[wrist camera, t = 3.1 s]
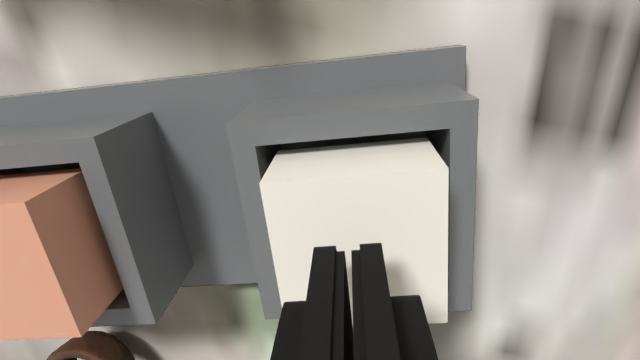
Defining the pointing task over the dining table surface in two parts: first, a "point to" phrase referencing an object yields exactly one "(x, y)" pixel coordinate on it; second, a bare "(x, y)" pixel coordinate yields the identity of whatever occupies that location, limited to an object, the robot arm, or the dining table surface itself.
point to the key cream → (362, 215)
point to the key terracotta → (52, 257)
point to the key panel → (236, 161)
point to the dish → (93, 348)
